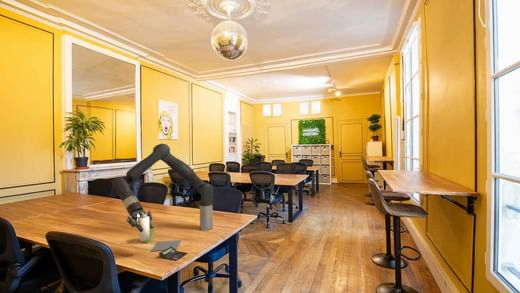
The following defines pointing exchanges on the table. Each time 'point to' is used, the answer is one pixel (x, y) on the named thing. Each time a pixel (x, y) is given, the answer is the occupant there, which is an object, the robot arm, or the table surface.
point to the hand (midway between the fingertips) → (146, 229)
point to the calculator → (172, 254)
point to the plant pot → (150, 235)
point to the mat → (165, 245)
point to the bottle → (144, 227)
